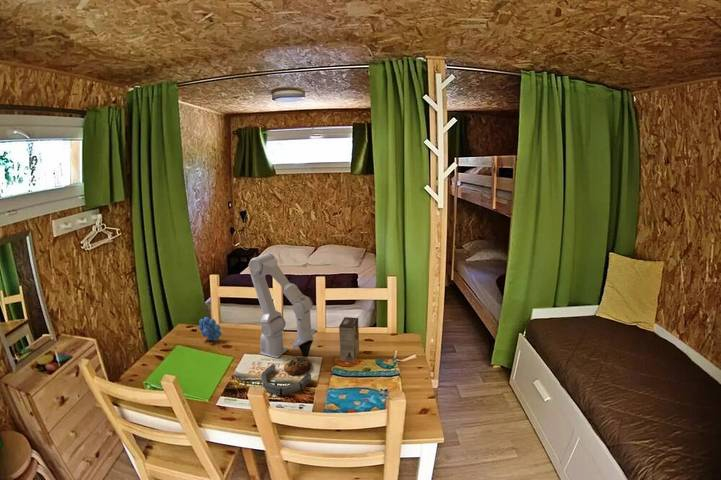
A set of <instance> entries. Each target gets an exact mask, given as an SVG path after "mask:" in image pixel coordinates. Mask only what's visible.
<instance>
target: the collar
mask: <svg viewBox="0 0 721 480" xmlns="http://www.w3.org/2000/svg"><path fill="white" fill-rule="evenodd" d="M275 372H276V365H275V364H270V366H268V367H267V368H266V369H265V370H264V371H262V372H261V374H260V376H261V377H260V378H261V384H263V385H262V388H263V387H265V388H266V390H267V391H268V392H267V393H270V394H273V395H277V396H285V395H289V394H293V393H297V392H301V390H302V391H303V390H304V388H305V387H307V385H308V384H309V383H310V381H312V373H309V372H306V373H305V375H304V376H303V377H302V378H301V380H299V381H298V382H295V383H291V384H288V385H282V386H281V385H276V384H272V383H270V382H268V380H267V379H268V378H269V377H271V375H273V374H274V373H275Z"/></svg>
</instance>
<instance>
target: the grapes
mask: <svg viewBox="0 0 721 480" xmlns="http://www.w3.org/2000/svg"><path fill="white" fill-rule="evenodd" d="M198 324H199V325H198V330H200V331H201V336H202V337H205V338H206V339H207V340H208V341H209V340H212V341H215V342H217V341H219V339H220V337H222V334H223V333H222V332H221V331H220V330H221V326H220V325H219V324H217V322H216V320H215V319H214V318H210V317H208V316H204V318H200V319H199V323H198Z"/></svg>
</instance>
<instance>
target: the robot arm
mask: <svg viewBox="0 0 721 480" xmlns="http://www.w3.org/2000/svg"><path fill="white" fill-rule="evenodd" d="M248 269H249V271H250V277H251V281H252V284H253V288H254V290H255V293H256V296H257V300H258V302H259V305H260V308H261V312H262V317H261V319H260V327H261V328H260V332H261V334H260V339H259V342H260V343H259V344H260V352H259V355H262V356H265V357H270V358H271V357H272V358H276V359H278V358H280V357H281V356H282V355H283V354H284V353H285V352H287V351H288V350H289V348H288V347H284V335H283V334H284V333H283V332H284V328H286V320H285V318H284V317H283V316H282V313H281V312H280V311H279V310H276V307H275V304H274V300H273V297H272V293H271V291H270V288H269V285H268V283H267V279H266V276H267V275H269V276H271V277H272V278H273V279H274V280H275V282H277V283H278V284H279V285H280V287H281V288H282V293H283V295H284V296H285V297H286V299H288V300H289V302H290V304H291V305H293V306H292V311H293V313H294V315H295V319H296V335H297V336H296V338H295V341H294V343H293V344H292V349H294V350H298V349H299V350H300V353H301V355H302V357H305V358H308V357H309V354H310V350H311V346H312V344H313V342H314V339H315V338H314V335H315V334H316V329H315V328H312V322H311V309H312V308H313V305H314V303H313V301H312V299H311V297H309V296H307V295H305V294H303V293H302V291H301V290H300V289H299V287H298V285H296V284H295V283H291V282H290V281H289V280H288V278H287V277H286V275H285V273H284V272H283V270H282V269H281V268H280V267H279V265H278V259H276V257H275V256H274V255H273V253H271V252H267V253H265V254H262V255H259V256H256V257H252V258H251V259H250V261H249V263H248Z"/></svg>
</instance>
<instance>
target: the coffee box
mask: <svg viewBox="0 0 721 480" xmlns="http://www.w3.org/2000/svg"><path fill="white" fill-rule="evenodd" d="M338 330H339V331H338V332H339V333H338V334H339V355H340V357H339V358H340V359H339V360H340V362H350V363H355V362H356V360H357V357H358V355H359V352H360V341H359V340H360V339H359V338H360V337H359V317H349V316H348V317H347V316H345V317H343V319H342V321H341V322H340V324H339V329H338Z"/></svg>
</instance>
